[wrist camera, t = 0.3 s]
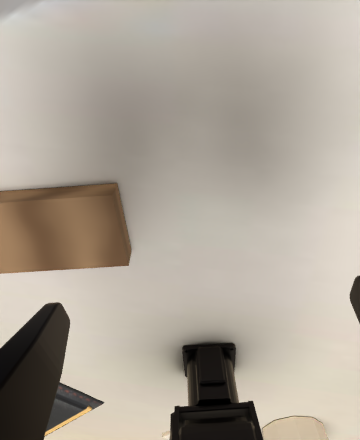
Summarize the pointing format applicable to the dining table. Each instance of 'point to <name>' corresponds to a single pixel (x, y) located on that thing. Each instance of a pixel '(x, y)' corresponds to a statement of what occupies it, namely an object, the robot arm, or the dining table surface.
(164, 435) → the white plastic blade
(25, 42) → the dining table surface
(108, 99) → the dining table surface
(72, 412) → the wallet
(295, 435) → the toilet paper
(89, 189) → the walnut slab
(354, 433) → the dining table surface
